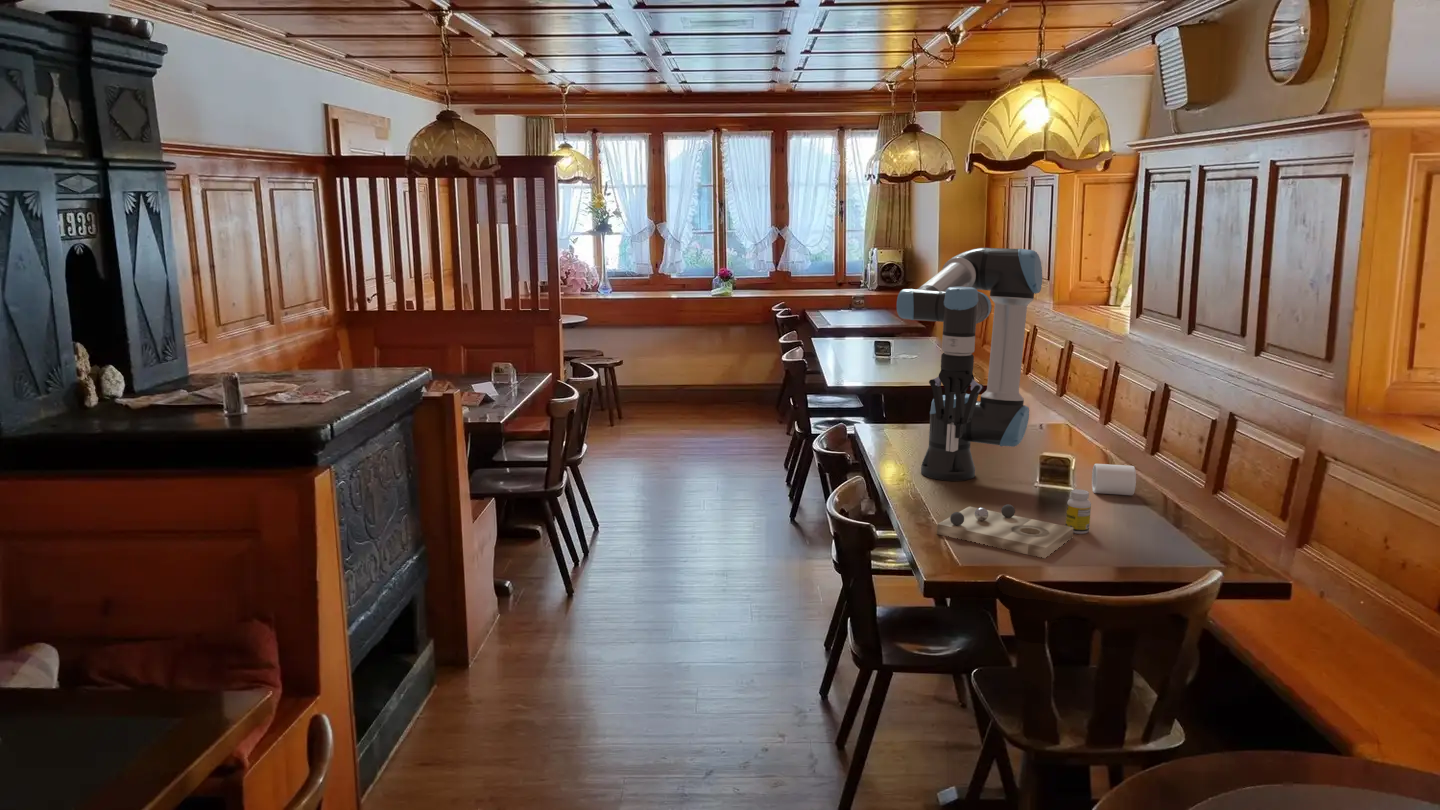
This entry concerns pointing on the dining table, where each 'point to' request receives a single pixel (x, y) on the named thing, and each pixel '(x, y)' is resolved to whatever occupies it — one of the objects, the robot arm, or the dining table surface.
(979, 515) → the steel ball
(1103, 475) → the mug
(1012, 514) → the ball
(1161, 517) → the dining table surface
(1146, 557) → the dining table surface
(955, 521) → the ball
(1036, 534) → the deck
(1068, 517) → the supplement bottle
